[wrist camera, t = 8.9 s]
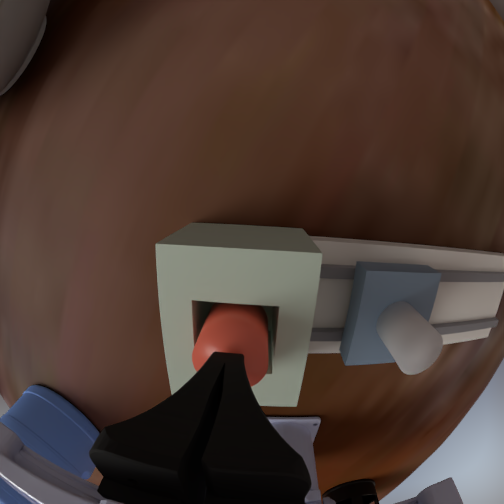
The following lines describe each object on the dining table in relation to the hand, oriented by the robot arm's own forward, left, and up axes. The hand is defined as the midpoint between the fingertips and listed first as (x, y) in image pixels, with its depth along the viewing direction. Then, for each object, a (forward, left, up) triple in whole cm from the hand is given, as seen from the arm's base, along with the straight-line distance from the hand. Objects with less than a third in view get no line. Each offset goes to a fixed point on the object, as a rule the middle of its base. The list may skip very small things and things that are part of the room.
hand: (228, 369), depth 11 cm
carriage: (0, -11, -7) cm, 13 cm away
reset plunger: (0, 0, -4) cm, 4 cm away
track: (0, -11, -10) cm, 14 cm away
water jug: (-26, +27, -10) cm, 39 cm away
